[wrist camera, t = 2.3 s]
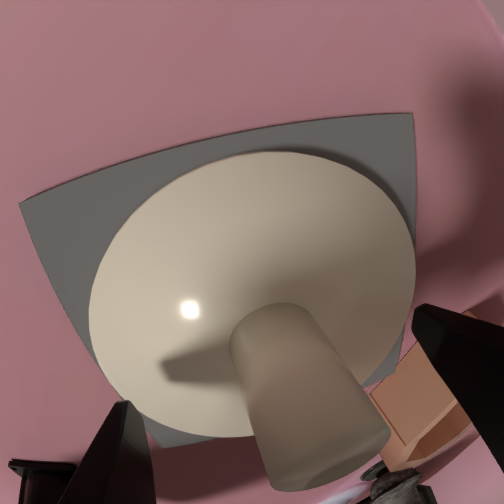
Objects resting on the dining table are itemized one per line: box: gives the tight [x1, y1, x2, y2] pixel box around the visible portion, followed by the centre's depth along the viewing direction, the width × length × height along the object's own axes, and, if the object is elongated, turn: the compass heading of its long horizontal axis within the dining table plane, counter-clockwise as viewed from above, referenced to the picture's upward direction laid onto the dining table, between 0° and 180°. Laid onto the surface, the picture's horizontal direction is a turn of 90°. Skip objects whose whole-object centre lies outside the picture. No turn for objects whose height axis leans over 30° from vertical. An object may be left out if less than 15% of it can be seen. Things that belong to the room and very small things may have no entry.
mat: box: [19, 113, 416, 449], centre depth 10 cm, size 12×12×1 cm
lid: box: [89, 150, 416, 492], centre depth 7 cm, size 11×11×5 cm
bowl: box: [369, 311, 480, 472], centre depth 14 cm, size 10×10×4 cm
